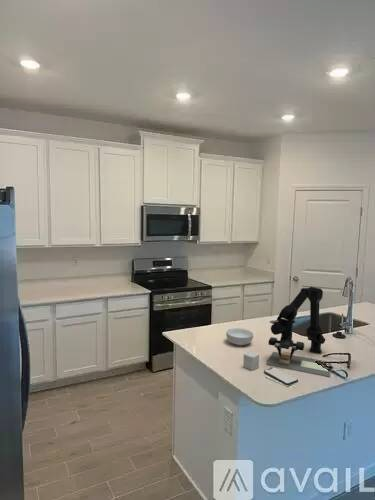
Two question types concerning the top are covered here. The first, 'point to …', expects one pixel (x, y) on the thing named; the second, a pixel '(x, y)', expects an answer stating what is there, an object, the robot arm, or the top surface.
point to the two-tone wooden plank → (285, 358)
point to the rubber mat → (300, 364)
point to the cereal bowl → (239, 336)
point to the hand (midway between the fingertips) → (285, 358)
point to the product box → (251, 360)
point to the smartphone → (281, 376)
